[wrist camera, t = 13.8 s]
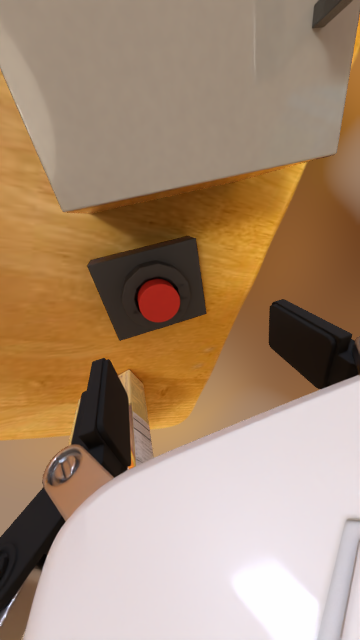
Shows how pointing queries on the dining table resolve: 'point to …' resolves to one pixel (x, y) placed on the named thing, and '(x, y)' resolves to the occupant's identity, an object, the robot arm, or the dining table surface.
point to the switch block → (140, 267)
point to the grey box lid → (174, 89)
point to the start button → (158, 300)
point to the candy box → (134, 419)
